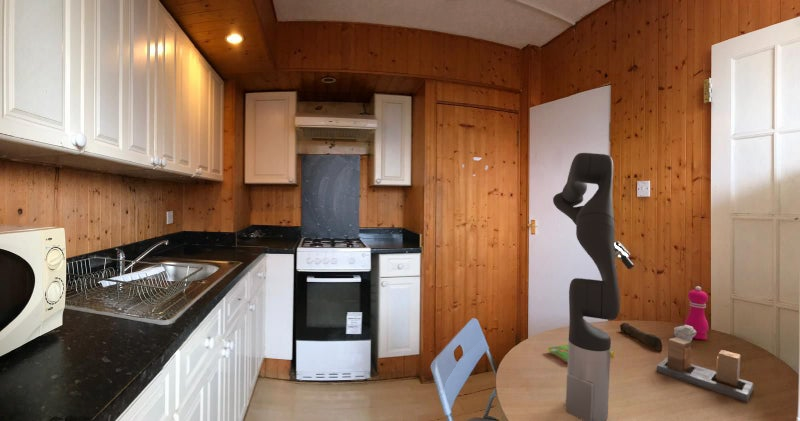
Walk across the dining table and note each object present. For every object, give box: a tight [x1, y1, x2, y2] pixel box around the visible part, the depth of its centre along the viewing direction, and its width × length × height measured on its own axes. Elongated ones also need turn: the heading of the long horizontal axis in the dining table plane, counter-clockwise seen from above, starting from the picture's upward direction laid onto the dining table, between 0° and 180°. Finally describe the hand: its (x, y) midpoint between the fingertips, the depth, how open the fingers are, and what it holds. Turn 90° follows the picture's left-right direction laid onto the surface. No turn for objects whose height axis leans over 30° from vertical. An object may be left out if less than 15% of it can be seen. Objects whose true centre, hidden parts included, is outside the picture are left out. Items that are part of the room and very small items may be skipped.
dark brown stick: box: [619, 322, 663, 352], centre depth 131 cm, size 19×4×5 cm, turn 1°
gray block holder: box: [656, 349, 754, 403], centre depth 103 cm, size 20×10×10 cm, turn 38°
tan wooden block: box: [667, 336, 692, 374], centre depth 107 cm, size 4×4×10 cm
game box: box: [546, 344, 615, 364], centre depth 118 cm, size 3×10×20 cm
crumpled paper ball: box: [673, 324, 696, 343], centre depth 130 cm, size 6×7×7 cm
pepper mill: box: [684, 285, 710, 340], centre depth 136 cm, size 7×7×20 cm
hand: (623, 268), depth 115 cm, fingers open, 8 cm apart
